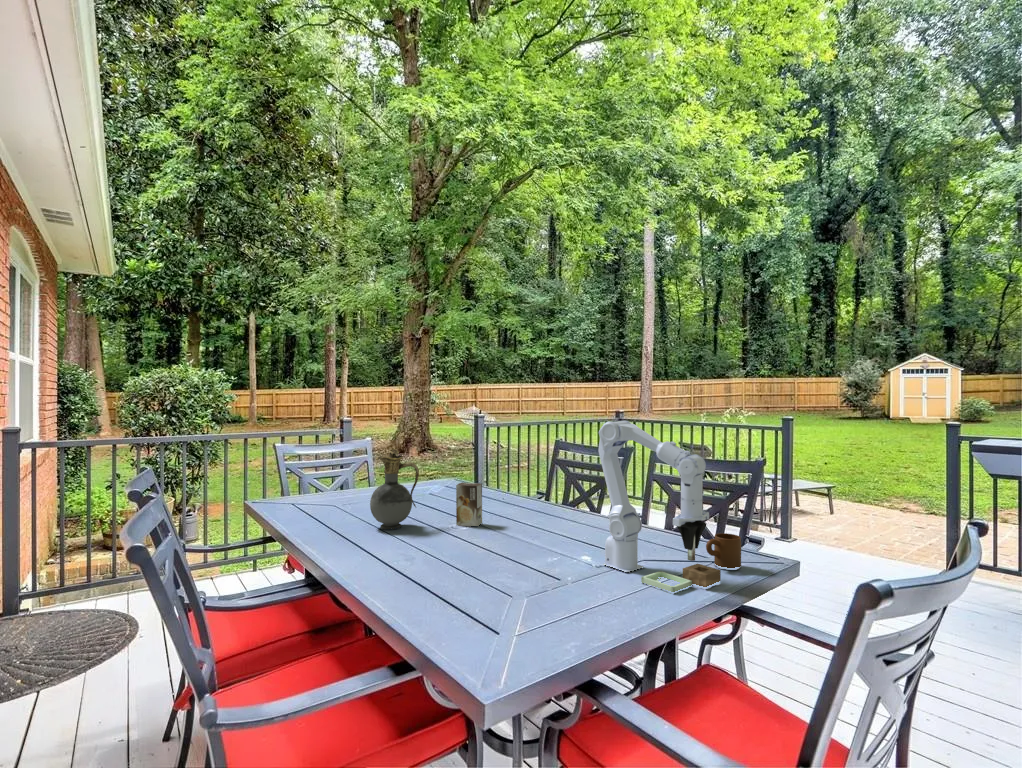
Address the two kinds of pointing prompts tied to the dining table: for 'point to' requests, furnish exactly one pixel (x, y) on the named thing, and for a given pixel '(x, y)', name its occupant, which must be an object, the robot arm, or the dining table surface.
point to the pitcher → (392, 493)
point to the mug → (725, 550)
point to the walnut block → (702, 575)
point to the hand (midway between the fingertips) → (691, 548)
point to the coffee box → (468, 504)
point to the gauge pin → (692, 552)
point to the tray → (653, 581)
